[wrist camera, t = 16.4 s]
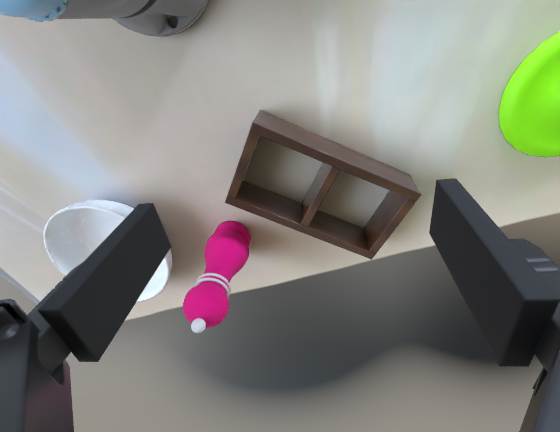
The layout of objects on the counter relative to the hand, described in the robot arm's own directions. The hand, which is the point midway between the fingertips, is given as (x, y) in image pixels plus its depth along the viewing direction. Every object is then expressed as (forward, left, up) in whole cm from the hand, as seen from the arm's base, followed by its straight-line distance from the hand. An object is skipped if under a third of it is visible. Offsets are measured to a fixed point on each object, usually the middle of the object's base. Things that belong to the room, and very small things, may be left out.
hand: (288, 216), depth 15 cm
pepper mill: (-2, -27, -31) cm, 41 cm away
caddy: (+7, -11, -31) cm, 33 cm away
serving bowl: (-20, -36, -31) cm, 51 cm away
